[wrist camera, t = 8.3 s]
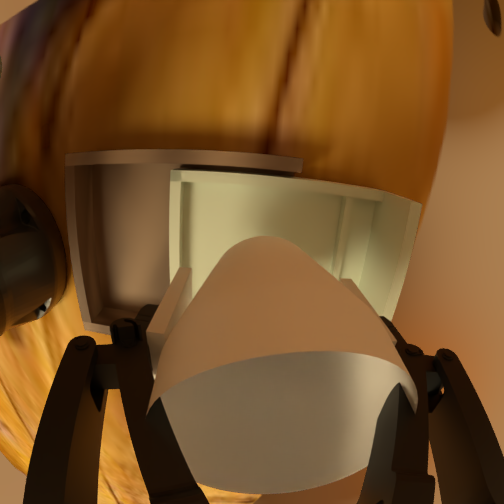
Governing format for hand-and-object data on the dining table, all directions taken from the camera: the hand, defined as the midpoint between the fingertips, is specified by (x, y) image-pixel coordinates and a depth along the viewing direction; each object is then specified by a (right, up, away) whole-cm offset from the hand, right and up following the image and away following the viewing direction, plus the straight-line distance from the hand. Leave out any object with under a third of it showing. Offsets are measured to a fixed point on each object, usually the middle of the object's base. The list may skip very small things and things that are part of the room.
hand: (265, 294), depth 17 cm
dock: (-7, +3, +7) cm, 10 cm away
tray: (+1, +2, +7) cm, 7 cm away
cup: (0, 0, +2) cm, 2 cm away
